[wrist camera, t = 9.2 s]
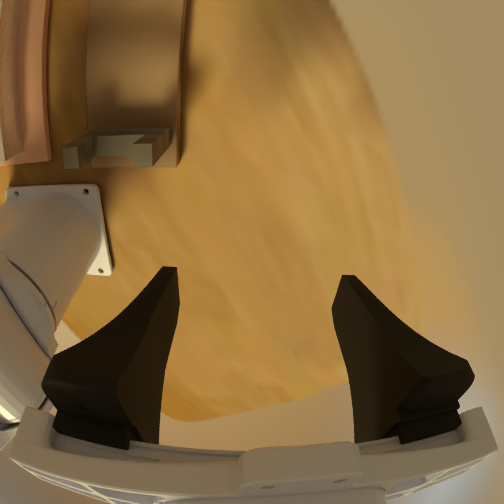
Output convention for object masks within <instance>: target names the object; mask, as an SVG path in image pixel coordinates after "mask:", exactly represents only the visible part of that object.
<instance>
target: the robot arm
mask: <svg viewBox="0 0 504 504" xmlns="http://www.w3.org/2000/svg"><path fill="white" fill-rule="evenodd" d="M85 189H87V190H88V191H89V193H87V192H86V191H85ZM17 192H18V193H19V194H18V193H17ZM5 196H6V200H7V201H6V202H5V203H4V204H2V205H1V206H0V450H2V449H3V448H4V446H5V445H6V444H7V443H8V442H9V441H10V440H11V439H12V438H13V437H14V436H15V438H14V441H13V444H12V448H11V451H10V454H9V457H10V459H11V460H13V461H14V462H15V463H17V464H19V465H20V466H21V467H23V468H24V469H26V470H27V471H28V472H30V473H31V474H33V475H35V476H36V477H38V478H39V479H42V480H44V481H47V482H49V483H52V484H54V485H57V486H60V487H63V488H65V489H68V490H71V491H74V492H77V493H80V494H83V495H85V496H89V497H92V498H95V499H98V500H101V501H105V502H108V503H112V504H387V503H386V502H387V501H390V500H393V499H397V498H400V497H403V496H406V495H409V494H412V493H414V492H417V491H420V490H423V489H425V488H428V487H431V486H433V485H435V484H438V483H440V482H443V481H445V480H448V479H450V478H453V477H455V476H457V475H460V474H462V473H464V472H466V471H468V470H470V469H471V468H473V467H474V466H476V465H477V464H479V463H480V462H482V461H483V460H485V459H486V458H488V457H489V456H490V455H492V454H493V453H495V452H496V451H497V450H498V447H497V444H496V441H495V439H494V436H493V434H492V431H491V428H490V426H489V423H488V421H487V418H486V416H485V414H484V411H483V409H482V407H477V408H474V409H471V410H468V411H465V412H463V413H461V414H460V415H459V414H458V411H457V409H459V407H460V405H459V402H458V400H459V398H460V397H461V396H462V395H463V394H464V393H465V392H466V391H467V390H468V389H469V387H470V386H471V385H472V383H473V381H474V378H475V375H474V373H473V371H472V369H471V367H470V365H469V363H468V361H467V360H466V359H464V358H461V357H459V356H457V355H454V354H452V353H450V352H448V351H446V350H444V349H442V348H440V347H439V346H437V345H435V344H433V343H431V342H430V341H429V340H427V339H426V338H424V337H422V336H421V335H419V334H418V333H417V332H415V331H414V330H413V329H411V328H410V327H409V326H407V325H406V324H405V323H404V322H402V321H401V320H400V319H399V318H398V317H397V316H396V315H394V314H393V313H392V312H391V311H390V310H389V309H388V308H387V307H386V306H385V305H384V304H383V303H382V302H381V301H380V300H379V299H378V298H377V297H376V296H375V295H374V294H373V293H372V292H371V291H370V290H369V289H368V288H367V287H366V286H365V285H364V284H363V283H362V282H361V281H360V280H359V279H358V278H357V277H356V276H355V275H342V277H341V280H340V283H339V287H338V290H337V293H336V296H335V299H334V302H333V305H332V315H333V322H334V327H335V331H336V335H337V338H338V341H339V345H340V348H341V351H342V355H343V358H344V361H345V365H346V368H347V373H348V377H349V384H350V390H351V398H352V406H353V418H354V435H355V436H354V439H355V444H354V443H351V442H333V443H324V444H314V445H299V446H279V447H278V446H277V447H263V448H256V449H253V450H249V451H227V450H225V451H224V450H207V449H193V448H182V447H173V446H164V445H159V427H160V412H161V401H162V391H163V383H164V375H165V369H166V364H167V360H168V356H169V352H170V348H171V344H172V341H173V337H174V333H175V329H176V325H177V320H178V313H179V305H180V299H179V288H178V275H177V267H165V266H163V267H162V268H161V269H160V270H159V271H158V273H157V274H156V275H155V276H154V278H153V279H152V280H151V281H150V282H149V284H148V285H147V286H146V287H145V288H144V289H143V290H142V292H141V293H140V294H139V295H138V296H137V297H136V298H135V299H134V300H133V301H132V302H131V303H130V304H129V305H128V306H127V307H126V308H125V309H124V310H123V311H122V312H121V313H120V314H119V315H118V316H117V317H115V318H114V319H113V320H112V321H111V322H109V323H108V324H107V325H105V326H104V327H103V328H101V329H100V330H98V331H97V332H96V333H94V334H93V335H91V336H90V337H88V338H86V339H85V340H83V341H81V342H80V343H78V344H76V345H74V346H72V347H70V348H68V349H66V350H64V351H62V352H60V353H58V354H55V355H54V353H55V351H56V349H57V347H58V344H57V342H56V340H55V337H54V332H55V331H56V329H57V327H58V325H59V323H60V321H61V319H62V317H63V315H64V313H65V311H66V309H67V308H68V306H69V304H70V302H71V300H72V298H73V297H74V295H75V293H76V291H77V289H78V288H79V286H80V284H81V282H82V281H83V279H84V277H85V276H86V274H92V275H104V276H110V275H111V274H112V272H113V267H112V262H111V257H110V252H109V247H108V242H107V236H106V230H105V224H104V218H103V211H102V205H101V197H100V190H99V187H98V186H97V185H96V184H61V185H37V186H20V187H9V188H7V189H6V190H5ZM100 268H101V269H103V270H101V269H100ZM53 355H54V356H53ZM53 405H54V406H55V408H56V409H57V413H56V416H55V417H54V416H53V415H51V414H49V412H50V410H51V409H52V407H53Z"/></svg>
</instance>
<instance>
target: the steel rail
mask: <svg viewBox="0 0 504 504" xmlns="http://www.w3.org/2000/svg"><path fill="white" fill-rule="evenodd" d="M22 1H23V0H0V162H6V161H7V160H9V159H11V158H12V157H14V156H16V155H17V154H19V153H21V152H22V151H24V148H23V140H22V131H21V121H20V108H19V89H18V49H19V31H20V18H21V9H22Z"/></svg>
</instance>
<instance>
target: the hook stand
mask: <svg viewBox="0 0 504 504" xmlns="http://www.w3.org/2000/svg"><path fill="white" fill-rule="evenodd" d="M186 9H187V0H90V6H89V16H88V29H87V48H86V108H87V128H88V133H87V134H85V135H84V136H82V137H80V138H78V139H76V140H75V141H73V142H71V143H69V144H68V145H66V146H64V147H63V148H62V157H63V165H64V169H77V168H80V167H82V166H83V165H84V164H86V163H87V162H88V161H90V164H91V168H117V167H173V168H177V166H178V164H179V163H180V113H181V84H182V63H183V47H184V33H185V20H186Z"/></svg>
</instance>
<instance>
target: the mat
mask: <svg viewBox="0 0 504 504" xmlns="http://www.w3.org/2000/svg"><path fill="white" fill-rule="evenodd" d="M49 9H50V0H23V1H22V9H21V18H20V31H19V49H18V89H19V108H20V121H21V131H22V140H23V148H24V151H22V152H21V153H19V154H17V155H16V156H14V157H12V158H11V159H9V160H7V161H6V162H0V166H8V165H16V164H25V163H35V162H46V161H49V160H51V159H52V153H51V145H50V135H49V124H48V109H47V85H46V56H47V33H48V19H49Z"/></svg>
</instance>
